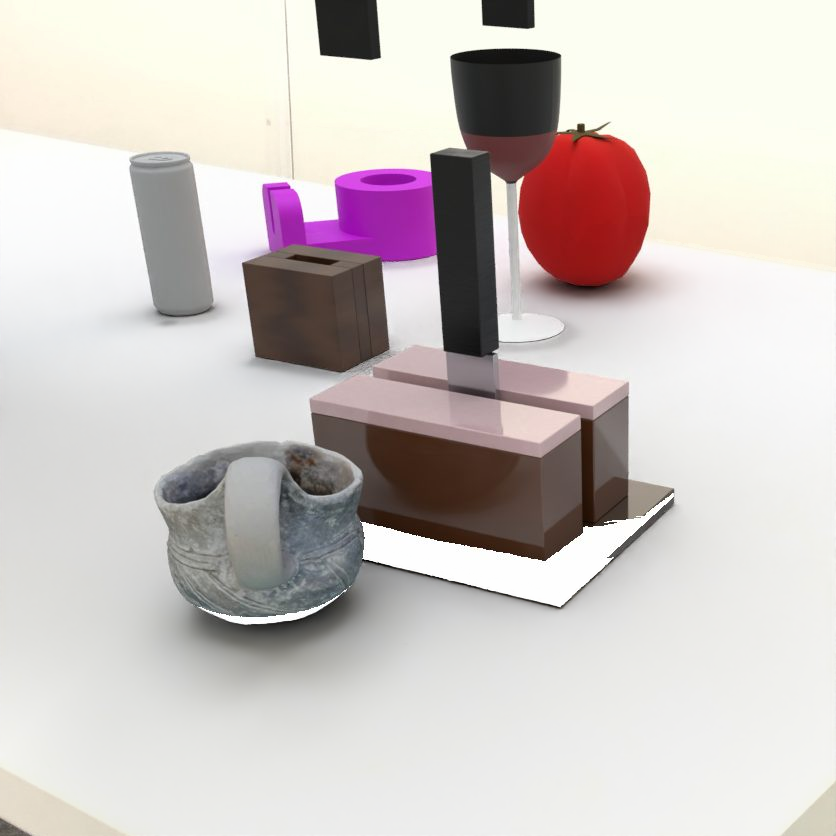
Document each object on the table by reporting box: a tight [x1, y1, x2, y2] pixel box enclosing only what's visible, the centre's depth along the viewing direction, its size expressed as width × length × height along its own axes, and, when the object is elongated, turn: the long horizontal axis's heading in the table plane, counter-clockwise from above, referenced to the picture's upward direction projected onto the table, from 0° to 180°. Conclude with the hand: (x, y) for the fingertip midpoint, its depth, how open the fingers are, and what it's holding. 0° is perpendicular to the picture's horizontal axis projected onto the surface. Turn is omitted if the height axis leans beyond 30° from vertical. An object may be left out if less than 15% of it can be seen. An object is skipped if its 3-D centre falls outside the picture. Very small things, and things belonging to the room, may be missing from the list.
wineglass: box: [449, 47, 565, 343], centre depth 101 cm, size 8×9×20 cm
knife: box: [429, 147, 500, 400], centre depth 70 cm, size 3×2×19 cm, turn 65°
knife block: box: [241, 244, 390, 373], centre depth 99 cm, size 8×6×7 cm
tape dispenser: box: [261, 168, 437, 262], centre depth 125 cm, size 16×10×6 cm, turn 114°
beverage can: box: [128, 150, 215, 317], centre depth 107 cm, size 5×5×12 cm
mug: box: [153, 439, 365, 617], centre depth 63 cm, size 10×12×10 cm
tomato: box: [517, 121, 651, 287], centre depth 114 cm, size 12×12×13 cm
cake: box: [308, 344, 675, 561], centre depth 74 cm, size 18×14×8 cm
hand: (436, 41), depth 64 cm, fingers open, 13 cm apart
